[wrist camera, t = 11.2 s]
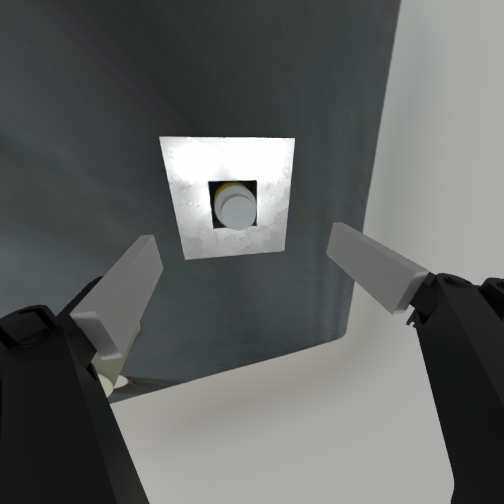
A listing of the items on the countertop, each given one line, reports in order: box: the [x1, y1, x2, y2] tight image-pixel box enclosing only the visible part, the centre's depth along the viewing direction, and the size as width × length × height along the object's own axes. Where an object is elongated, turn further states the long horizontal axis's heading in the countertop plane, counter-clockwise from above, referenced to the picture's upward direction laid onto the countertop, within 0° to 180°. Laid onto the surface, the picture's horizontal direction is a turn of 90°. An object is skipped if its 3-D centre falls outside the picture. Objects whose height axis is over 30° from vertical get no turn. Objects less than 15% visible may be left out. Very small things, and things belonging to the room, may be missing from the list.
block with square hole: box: [159, 137, 295, 260], centre depth 27 cm, size 16×16×4 cm
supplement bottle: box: [214, 181, 257, 231], centre depth 24 cm, size 5×5×10 cm
